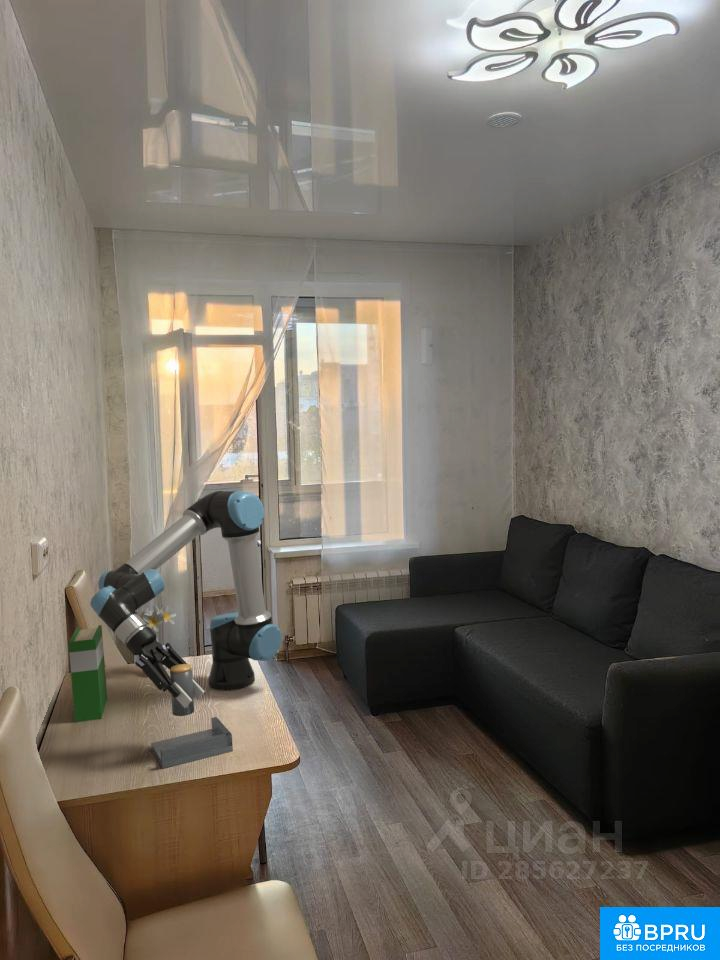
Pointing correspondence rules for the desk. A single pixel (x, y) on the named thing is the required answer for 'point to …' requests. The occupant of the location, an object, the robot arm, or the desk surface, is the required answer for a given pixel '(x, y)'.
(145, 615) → the flower vase
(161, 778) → the desk surface
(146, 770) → the desk surface
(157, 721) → the desk surface
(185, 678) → the grey cylinder orange top
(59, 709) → the desk surface
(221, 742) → the plate
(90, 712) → the hardback book
